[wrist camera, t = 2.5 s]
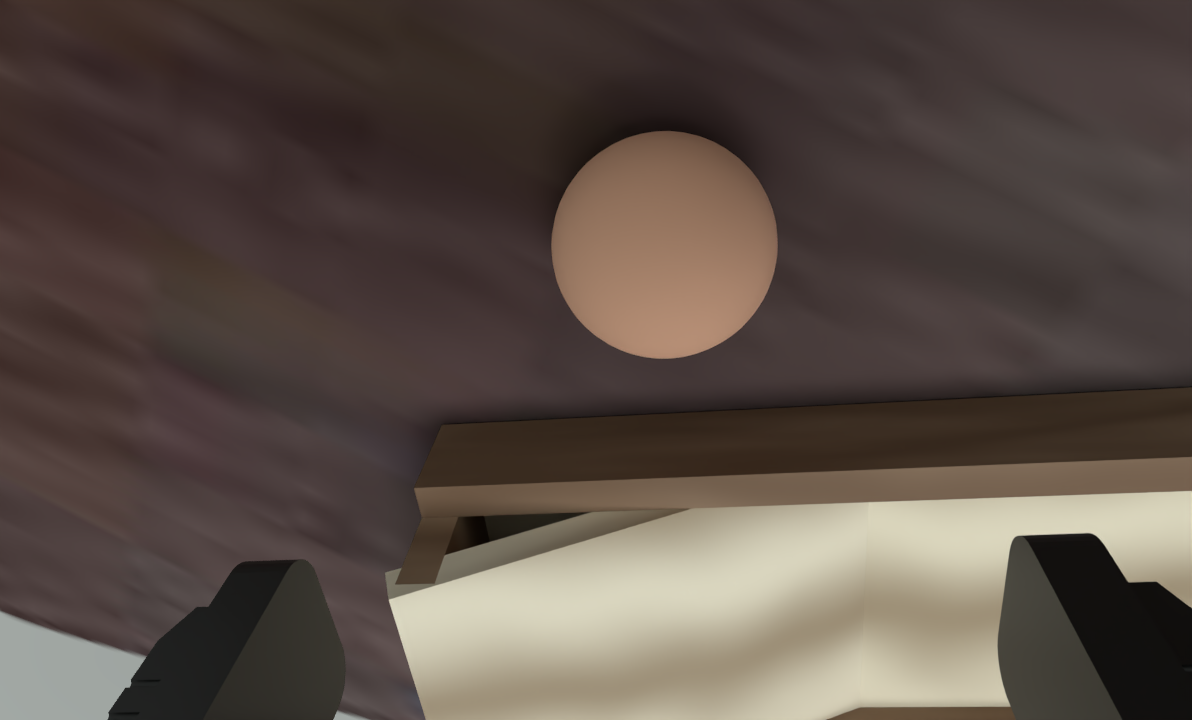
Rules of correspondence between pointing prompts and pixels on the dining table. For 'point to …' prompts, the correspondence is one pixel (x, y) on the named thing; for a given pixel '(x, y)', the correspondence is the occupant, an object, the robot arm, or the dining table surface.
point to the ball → (664, 244)
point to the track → (769, 553)
